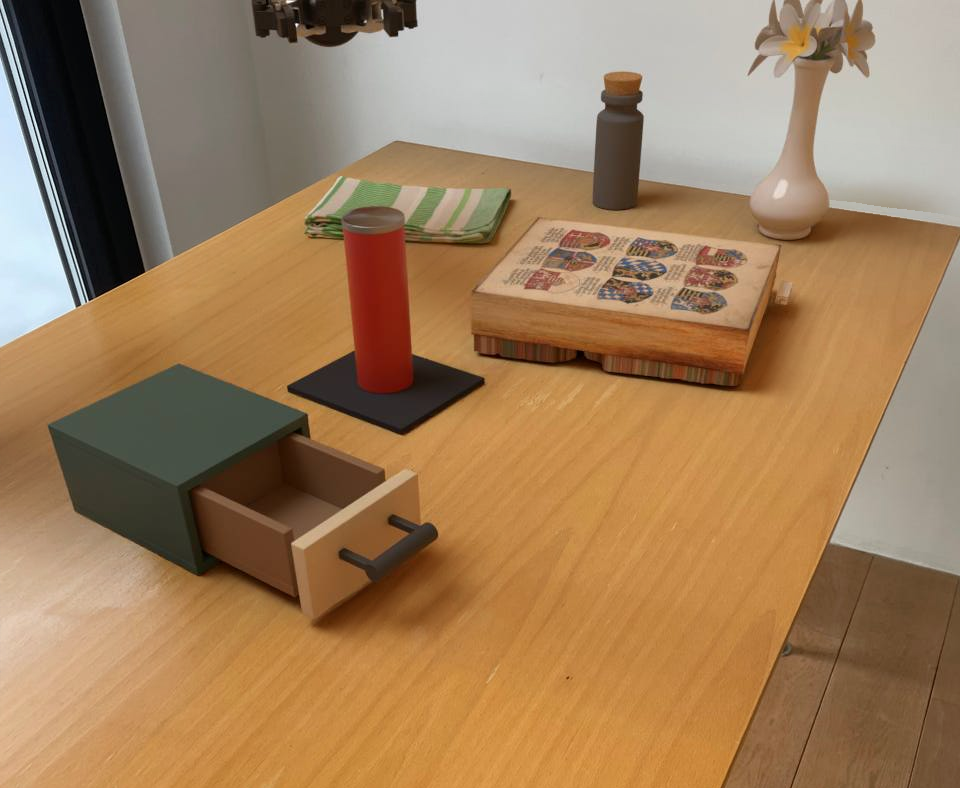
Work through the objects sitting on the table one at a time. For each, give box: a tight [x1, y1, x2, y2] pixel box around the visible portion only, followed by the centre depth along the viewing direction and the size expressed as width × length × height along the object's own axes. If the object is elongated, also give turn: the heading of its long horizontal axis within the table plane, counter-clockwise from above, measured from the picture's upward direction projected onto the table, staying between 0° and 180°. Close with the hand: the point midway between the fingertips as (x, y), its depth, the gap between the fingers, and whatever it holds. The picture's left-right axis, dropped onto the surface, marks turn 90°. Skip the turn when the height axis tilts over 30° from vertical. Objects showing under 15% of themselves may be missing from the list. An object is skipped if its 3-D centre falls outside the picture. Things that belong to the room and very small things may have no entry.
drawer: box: [188, 432, 439, 620], centre depth 74 cm, size 17×11×6 cm, turn 53°
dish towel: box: [303, 175, 512, 245], centre depth 132 cm, size 18×23×3 cm
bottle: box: [592, 71, 645, 211], centre depth 132 cm, size 6×6×15 cm
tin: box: [341, 206, 414, 394], centre depth 92 cm, size 5×5×15 cm
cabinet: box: [46, 362, 312, 576], centre depth 80 cm, size 15×13×8 cm
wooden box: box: [470, 216, 794, 387], centre depth 106 cm, size 25×6×28 cm
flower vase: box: [747, 0, 876, 241], centre depth 120 cm, size 13×18×25 cm
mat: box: [286, 349, 485, 436], centre depth 97 cm, size 14×12×1 cm
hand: (343, 26), depth 87 cm, fingers open, 8 cm apart
